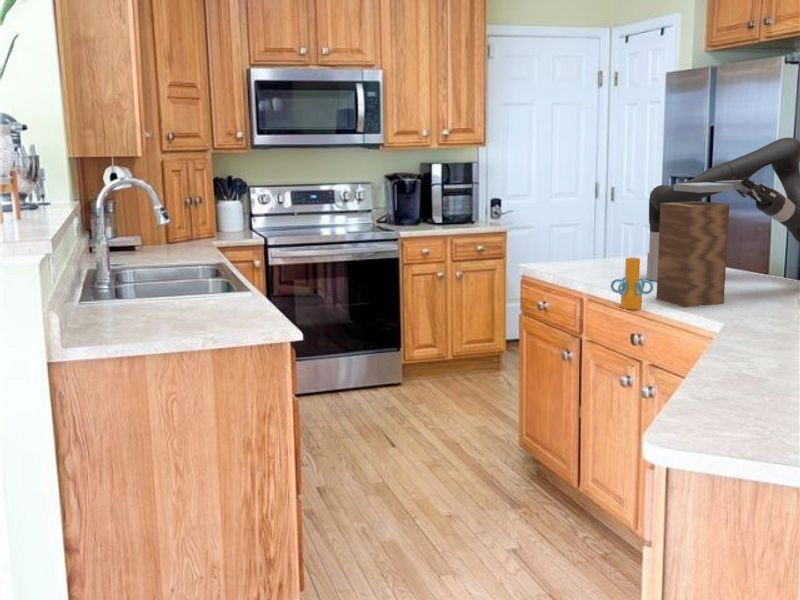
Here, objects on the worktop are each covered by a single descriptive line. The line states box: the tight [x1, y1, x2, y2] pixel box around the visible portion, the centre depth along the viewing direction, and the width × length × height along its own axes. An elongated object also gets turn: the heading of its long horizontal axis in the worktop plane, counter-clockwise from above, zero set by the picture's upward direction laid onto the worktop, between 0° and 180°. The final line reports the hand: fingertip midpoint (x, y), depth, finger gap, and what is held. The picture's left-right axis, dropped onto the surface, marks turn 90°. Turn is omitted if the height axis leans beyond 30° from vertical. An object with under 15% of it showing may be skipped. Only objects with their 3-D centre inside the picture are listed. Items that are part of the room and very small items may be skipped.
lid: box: [673, 179, 755, 193], centre depth 246 cm, size 23×12×2 cm, turn 108°
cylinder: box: [610, 256, 654, 311], centre depth 241 cm, size 12×10×15 cm
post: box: [656, 200, 730, 308], centre depth 247 cm, size 14×14×30 cm
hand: (738, 180), depth 248 cm, fingers closed on lid, 4 cm apart
